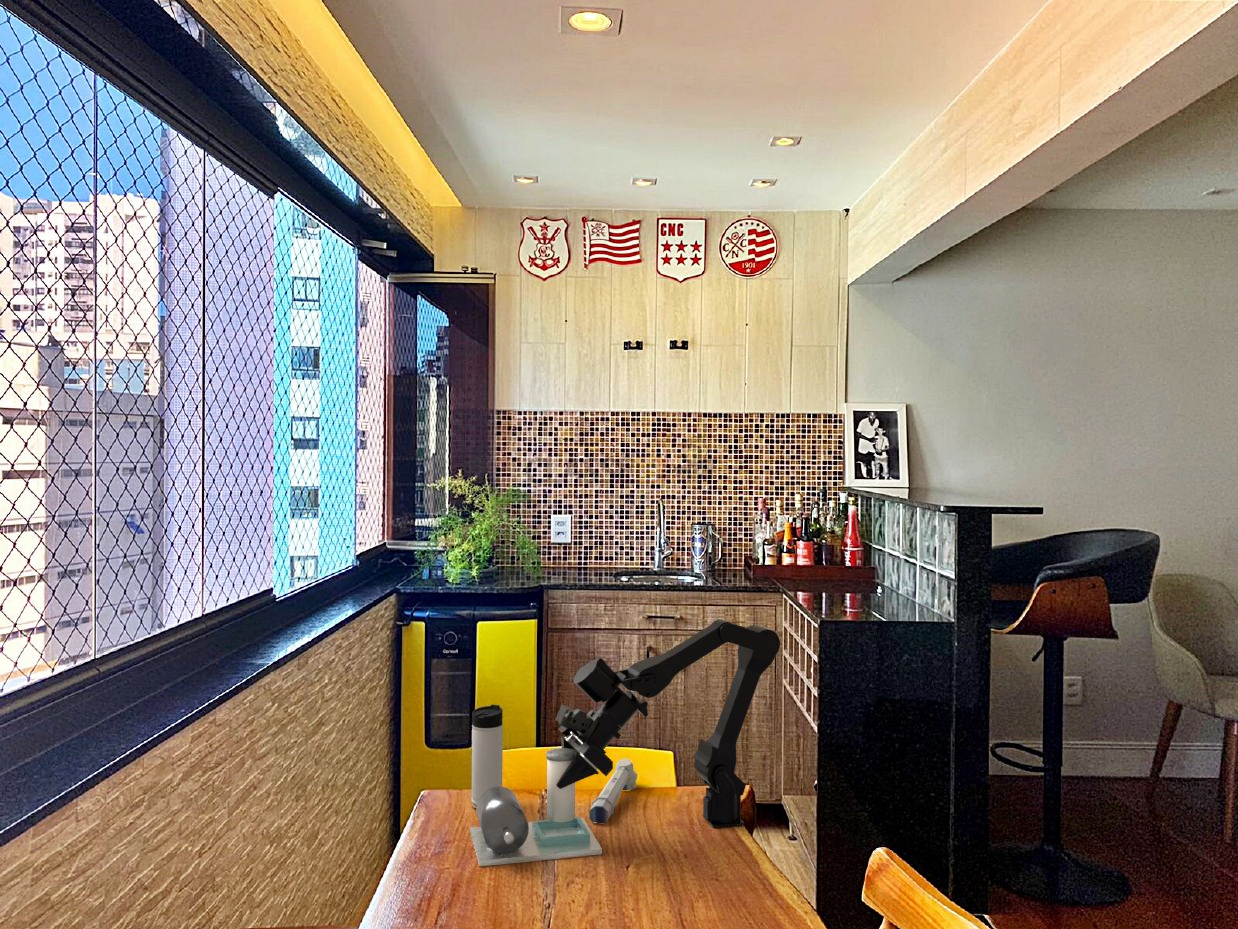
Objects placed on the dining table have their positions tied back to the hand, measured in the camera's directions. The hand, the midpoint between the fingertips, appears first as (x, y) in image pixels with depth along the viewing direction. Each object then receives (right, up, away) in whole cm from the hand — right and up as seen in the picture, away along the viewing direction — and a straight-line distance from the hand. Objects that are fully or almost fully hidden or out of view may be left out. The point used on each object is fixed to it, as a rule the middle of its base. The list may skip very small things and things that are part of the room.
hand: (554, 782), depth 177 cm
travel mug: (-15, -11, +19) cm, 27 cm away
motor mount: (-3, -11, -2) cm, 12 cm away
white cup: (+1, -7, 0) cm, 7 cm away
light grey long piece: (+11, -12, +21) cm, 26 cm away
